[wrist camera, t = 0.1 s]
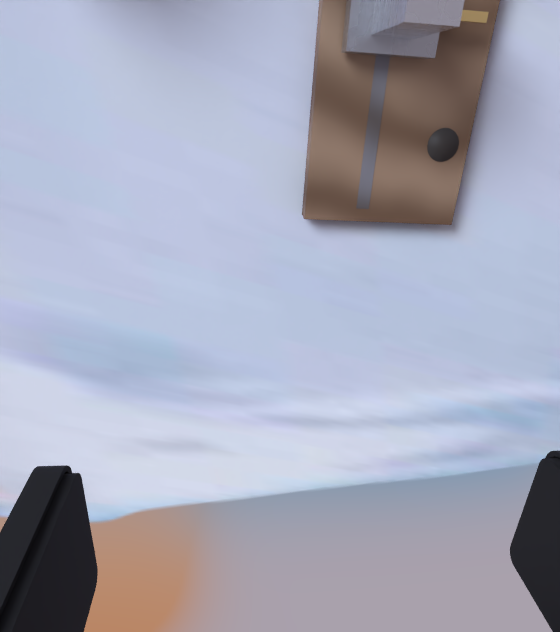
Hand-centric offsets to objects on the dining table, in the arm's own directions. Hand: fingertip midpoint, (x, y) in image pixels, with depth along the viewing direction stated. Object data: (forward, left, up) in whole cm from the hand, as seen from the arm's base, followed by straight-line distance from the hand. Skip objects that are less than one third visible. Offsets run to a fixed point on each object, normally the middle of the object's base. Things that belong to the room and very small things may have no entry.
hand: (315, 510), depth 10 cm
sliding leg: (-13, +10, -29) cm, 33 cm away
